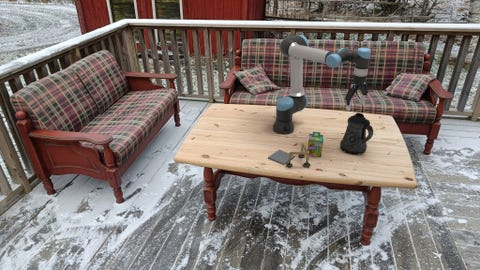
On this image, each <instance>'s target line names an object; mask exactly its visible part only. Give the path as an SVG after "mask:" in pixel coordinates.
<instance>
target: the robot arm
mask: <svg viewBox="0 0 480 270" xmlns="http://www.w3.org/2000/svg"><path fill="white" fill-rule="evenodd" d="M278 49H279V52H280V54H282V55H283V56H284V57H288V58H289V59H290V61H289V62H290V63H289V64H290V65H289V66H290V72H289V73H290V92H289V93H288V96H285V97H280V98H278V99H277V101H276V105H275V108H276V109H275V121H274V123H273V126H272V130H273V132H274V133H276V134H278V135H289V134H292V133H293V132H294V130H295V126H294V122H293V114H296V113H299V112H301V111H303V110H304V109H306V107H307V106H308V105H309V104H308V103H309V100H308V97H307V95H306V93H305V91H304V89H303V85H304V84H303V82H304V81H303V79H304V78H303V77H304V73H303V72H304V69H303V68H304V60H307V61H308V60H309V61H311V62H316V63H322V64H325V65H327V66H328V67H329V68H337V67H338V66H341V65H343V64H346V63H350V64H354V71H353V75H352V80H353V83H350V84H349V87H348V91H347V92H346V94H345V97H344V100H345V101H346V102H345V105H346V106H345V111H348V112H350V111H351V106H352V99H353V97H354V96H355V94H356V92H358V91H359V90H360V93H361V94H360V97H359V102H358V103H359V104H358V105H361V106H364V105H365V100H366V96H368V94H369V88H368V80H367V74H368V73H369V72H368V70H369V66H370V60H371V53H372V50H371V49H370V48H367V47H359V48H358V49H357V50H355V49H350V48H346V47H342V48H339V49H338V51H337V52H334V51H330V50H326V49H320V48H315V47H310V45H309V40H308V39H307V38H306V36H305V35H302V34H296V35H293V36H290V37H284V38H283V39H282V40H281V41H280V42H279V48H278Z"/></svg>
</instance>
